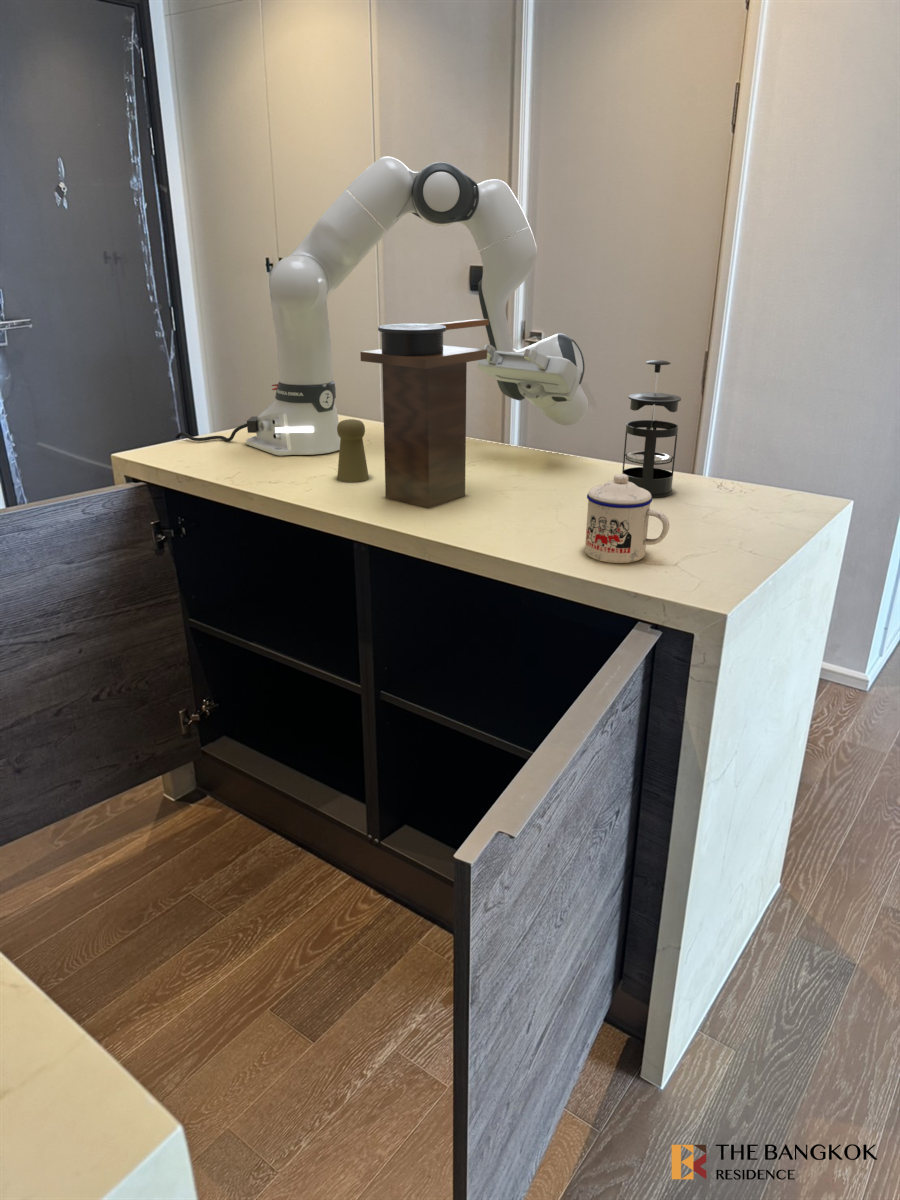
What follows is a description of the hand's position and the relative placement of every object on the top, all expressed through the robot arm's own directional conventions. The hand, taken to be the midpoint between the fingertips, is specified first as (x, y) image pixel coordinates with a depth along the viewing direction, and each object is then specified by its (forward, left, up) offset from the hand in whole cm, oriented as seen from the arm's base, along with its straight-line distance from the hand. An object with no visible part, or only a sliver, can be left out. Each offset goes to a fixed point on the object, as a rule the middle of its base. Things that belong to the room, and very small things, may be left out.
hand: (506, 350), depth 160 cm
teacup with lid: (+42, -29, -23) cm, 56 cm away
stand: (0, -24, -23) cm, 33 cm away
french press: (+28, +5, -23) cm, 37 cm away
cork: (-19, -23, -23) cm, 38 cm away
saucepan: (0, -20, +2) cm, 20 cm away
